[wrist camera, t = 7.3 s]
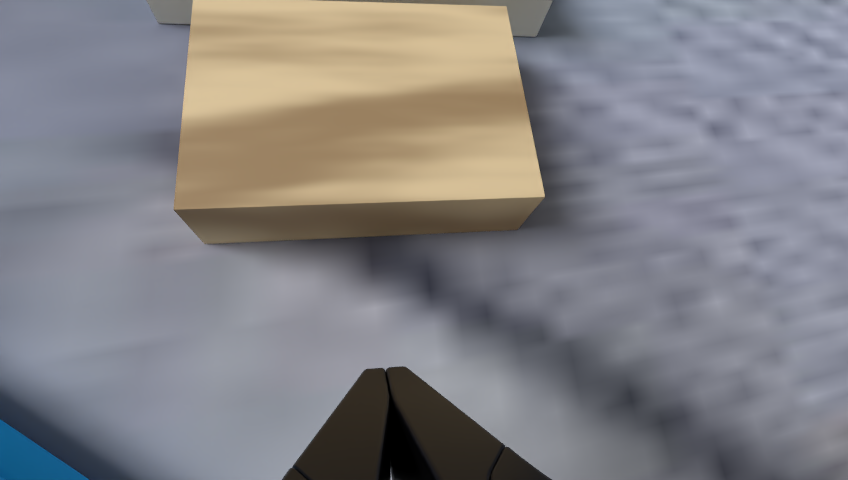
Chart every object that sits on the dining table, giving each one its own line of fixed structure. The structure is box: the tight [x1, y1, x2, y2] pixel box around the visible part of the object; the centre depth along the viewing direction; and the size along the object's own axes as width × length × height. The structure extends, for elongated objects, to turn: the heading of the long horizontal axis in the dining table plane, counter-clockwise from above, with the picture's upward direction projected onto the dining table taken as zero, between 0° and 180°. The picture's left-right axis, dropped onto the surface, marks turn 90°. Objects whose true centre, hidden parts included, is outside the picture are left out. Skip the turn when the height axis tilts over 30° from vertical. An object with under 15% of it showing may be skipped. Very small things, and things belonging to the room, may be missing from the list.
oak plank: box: [174, 0, 545, 244], centre depth 21 cm, size 4×14×10 cm
